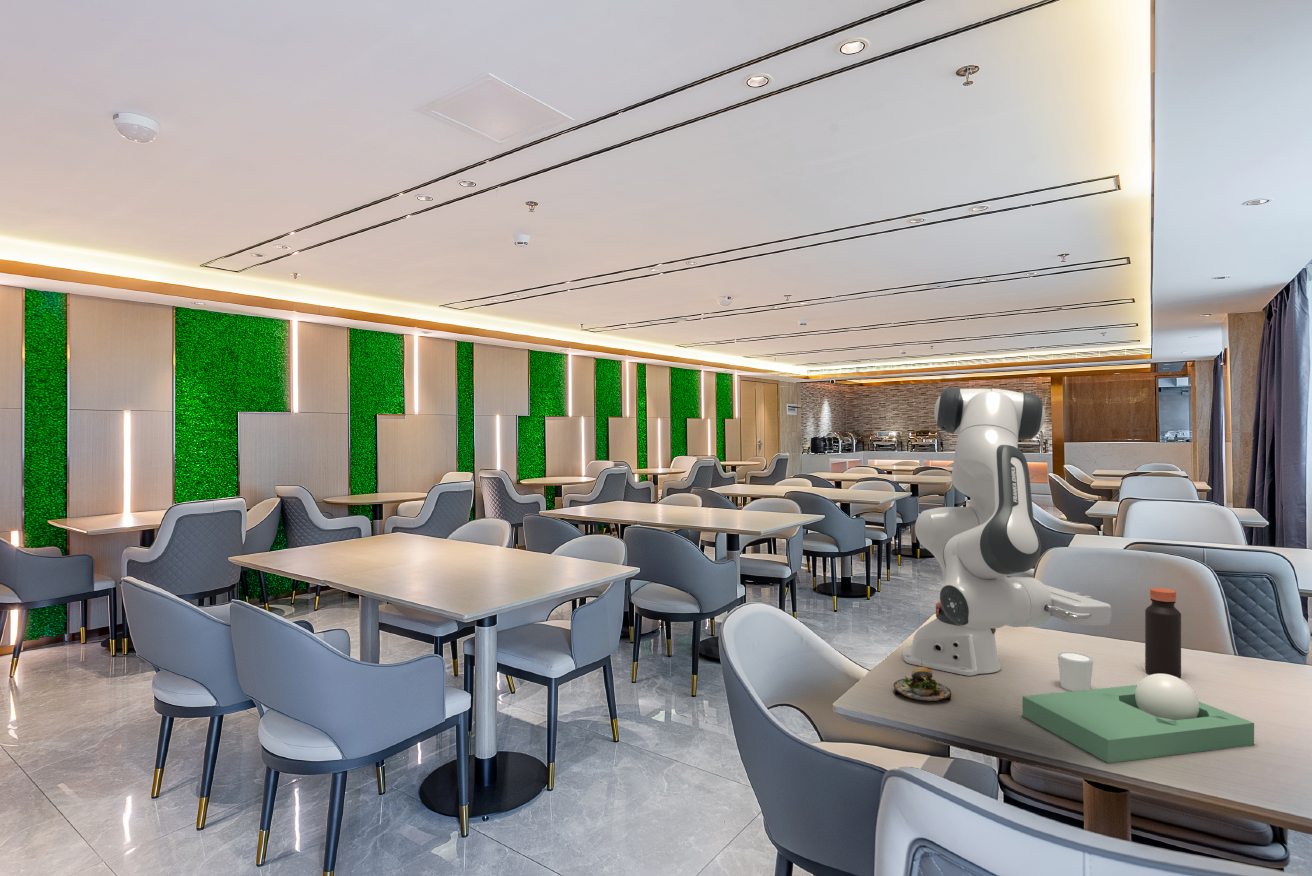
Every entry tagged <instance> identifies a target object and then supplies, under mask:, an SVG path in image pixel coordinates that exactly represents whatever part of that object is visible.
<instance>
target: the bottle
mask: <svg viewBox="0 0 1312 876" xmlns="http://www.w3.org/2000/svg"><path fill="white" fill-rule="evenodd" d="M1149 593H1150V594H1149V598H1150V601H1151V604H1150V605H1149V606H1147V607H1146V608H1145V609H1144V612H1145V613H1144V616H1145V619H1144V623H1145V624H1144V629H1145V631H1144V632H1145V633H1144V634H1145V635H1144V643H1145V644H1144V647H1145V648H1144V650H1145V651H1144V654H1145V655H1144V659H1145V660H1144V662H1145V663H1144V665H1145V666H1144V670H1145V672H1146V673H1147V675H1152V674H1169V675H1172V676H1175V677H1177V678H1179V679H1181V677H1182V613H1181V612H1180V611H1179V610H1178V609H1177V608H1176V607H1175V604H1176V602H1177V591H1175V590H1173V589H1169V588H1164V587H1163V588H1162V587H1161V588H1160V587H1154V588H1153V587H1152V588H1150V589H1149Z"/></svg>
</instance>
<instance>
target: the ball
mask: <svg viewBox="0 0 1312 876" xmlns="http://www.w3.org/2000/svg"><path fill="white" fill-rule="evenodd" d="M1136 685H1137V687H1136V690H1135V700H1136V703H1137V706H1138V708H1139V709H1140V710H1142V711H1144V712H1146V713H1148V714H1151V715H1153V716H1155V717H1160V718H1166V719H1171V720H1183V719H1192V718H1196V717H1197V716H1198V713H1199V702H1200V700H1199V699H1198V698H1199V697H1198V695H1197V694H1196V692H1195V691H1194V689H1193V688H1192V687H1191V686H1190V685H1189V684H1188V683H1187V682H1185V681H1184V680H1183V679H1181V678H1177V677H1175V676H1172V675H1169V674H1152V675H1150V674H1148V675H1147V676H1145V677H1143V678H1142V679H1140V681H1139V682H1138V683H1137V684H1136Z"/></svg>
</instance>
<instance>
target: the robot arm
mask: <svg viewBox="0 0 1312 876" xmlns="http://www.w3.org/2000/svg"><path fill="white" fill-rule="evenodd" d="M933 413H934V420H935V422H936V426H937V427H938V428H939V429H940V430H941V431H943V432H944V433H945V432H946V433H949V434H953V435H954V434H958V435H957V439H956V444H955V450H954V457H953V464H952V471H951V482H952V484H953V486H954V488H955V489H956V490H957V491H958V492H960V493H962V494H963V495H965V496H967V497H969V498H970V499H969V500H970V501H969V506H939V507H934V508H930V509H926V510H923V511H922V512H920V513H919V515H918V517H917V518H916V521H915V524H914V525H915V526H914V531H915V536H916V539H917V540H918V542H919V544H921V545H922V547H923V548H925V549H926V550H927V551H929V552H930V553H931V555H932V556H934V557H935V559H936V561H937V562H938V564H939V566H940V569H941V571H942V572H941V573H942V577H943V585H942V587H941V589H940V591H939V601H938V602H937V603H936V604H935V605H934V606H935V607H934V608H935V617H936V618H935V619H933V620H931V621H930V622H928V623H927V624H925V625H923V626H922V627H920V628H918V629H917V630H916V631H915V633H914V635H913V639H912V643H911V645H909V646H907V647H905V648H904V649H903V652H902V659H903V661H904V662H906V663H907V664H911V665H915V666H918V667H921V658H922V667H925V668H928V669H934V670H938V671H943V672H949V673H953V674H958V675H962V676H963V675H964V676H967V677H968V676H970V677H971V676H975V675H979V674H981V675H982V674H991V673H996V672H999V671H1001V670H1002V664H1001V662H1000V657H999V654H998V653H999V652H998V649H997V644H996V643H997V641H996V631H997V629H999V628H1003V627H1006V626H1009V627H1012V628H1022V627H1023V628H1024V627H1039V626H1042V625H1045V624H1046V623H1047V622H1048V621H1049V619H1051V618H1050V617H1052V618H1054V619H1057V620H1060V621H1063V622H1066V623H1069V624H1073V625H1079V626H1080V625H1081V626H1108V625H1110V624H1111V622H1112V621H1111V620H1112V606H1111V604H1109V603H1107V602H1103V601H1100V600H1097V599H1093V596H1091V595H1088V594H1085V593H1081V592H1070V591H1067V590H1063V589H1061V588H1057V587H1053V586H1051V585H1046V584H1044V583H1043V582H1042V581H1041V580H1039V579H1038V578H1035V577H1032V576H1031V577H1030V576H1029V577H1028V576H1026V577H1025V576H1023V577H1022V576H1011V575H1014V574H1020V573H1025V572H1028V571H1030V570H1032V569H1033V568H1034V567H1035V566H1036V565H1037V563H1038V562H1039V560H1040V557H1041V549H1042V546H1041V545H1042V544H1041V540H1040V536H1039V532H1038V530H1037V526H1036V523H1035V519H1034V518H1035V517H1034V511H1033V510H1034V509H1033V499H1032V489H1031V478H1030V470H1029V466H1028V462H1027V459H1026V456H1025V454H1024V453H1023V452H1022V450H1020V449H1019V448H1018V445H1019V441H1025V440H1031V439H1033V438H1034V437H1036V436H1037V435H1038V434H1039V432H1040V430H1041V429H1042V428H1043V425H1044V423H1045V420H1046V410H1045V407H1044V404H1043V400H1042V398H1040V396H1038V395H1036V394H1034V393H1030V392H1025V391H1023V392H1019V391H1014V390H1008V389H1003V388H1002V389H1001V388H1000V389H999V388H993V387H992V388H961V387H959V386H957V387H949V388H946V389H945V390H942V392H941V393H940V395H939V396H938V398H937V400H936V401H935V405H934V412H933ZM1009 575H1010V576H1009Z"/></svg>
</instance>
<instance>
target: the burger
mask: <svg viewBox="0 0 1312 876" xmlns="http://www.w3.org/2000/svg"><path fill="white" fill-rule="evenodd" d="M910 674H911V677H910V678H909V677H907V676H904V677H905V678H904V677H903V678H901V679H899V680H898V679H897V680H896V681H895V682H894V683H893V692H892V693H893V694H894V696H895V695H896V692H898V693H899V694H901V695H903V696H905V697H908V698H910V699H914V700H919V701H929V702H930V701H940V700H943V699H947V698H948V701H949V702H951V701H952V700H953V699H952V690H951V689H950V688H949V687H948V686H946V685H944V684H942V683H939V682H937V680H936V679H934V678H933V672H932V670H930V668H928V667H923V666H922V658H921V666H918V667H915V668H914V669H913V670H912V671H911V673H910Z"/></svg>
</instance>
